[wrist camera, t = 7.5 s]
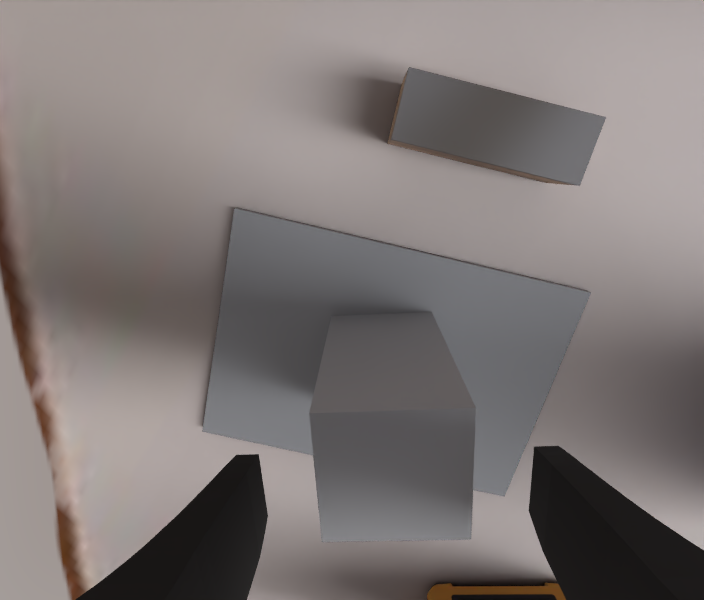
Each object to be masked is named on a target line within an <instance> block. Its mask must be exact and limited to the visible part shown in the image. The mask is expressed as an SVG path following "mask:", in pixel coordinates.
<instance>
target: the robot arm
mask: <svg viewBox="0 0 704 600" xmlns="http://www.w3.org/2000/svg"><path fill="white" fill-rule="evenodd" d="M529 513H530V515H531V518H532V521H533V524H534V527H535V530H536V533H537V536H538V539H539V542H540V544H541V547H542V550H543V552H544V554H545V557H546V559H547V561H548V563H549V565H550V567H551V569H552V571H553V573H554V576H555V578H556V580H557V582H558V584H559V586H560V588H561V590H562V592H563V594H564V596H565V598H566V600H704V550H702V549H701V548H699V547H697V546H696V545H694V544H693V543H691V542H690V541H688V540H687V539H685V538H683V537H682V536H681V535H679V534H678V533H676V532H675V531H673V530H672V529H670V528H669V527H667V526H666V525H664V524H663V523H661V522H660V521H658V520H657V519H655V518H654V517H653V516H651V515H650V514H648V513H647V512H646V511H644V510H643V509H641V508H640V507H639V506H637V505H636V504H634V503H633V502H632V501H630V500H629V499H628V498H626V497H625V496H624V495H622V494H621V493H620V492H618V491H617V490H616V489H614V488H613V487H612V486H610V485H609V484H608V483H606V482H605V481H604V480H602V479H601V478H600V477H599V476H597V475H596V474H595V473H593V472H592V471H591V470H589V469H588V468H587V467H586V466H584V465H583V464H582V463H580V462H579V461H578V460H577V459H575V458H574V457H573V456H571V455H570V454H569V453H567V452H566V451H565V450H563V449H562V448H561V447H559V446H542V447H534V456H533V468H532V480H531V492H530V504H529ZM267 518H268V514H267V508H266V501H265V494H264V487H263V481H262V474H261V467H260V461H259V454H255V455H236V456H235V457H234V458H233V459H232V460H231V461H230V462H229V463H228V464H227V465H226V466H225V467H224V468H223V469H222V470H221V471H220V472H219V473H218V474H217V475H216V476H215V477H214V479H213V480H212V481H211V482H210V483H209V484H208V485H207V486H206V487H205V488H204V489H203V490H202V491H201V492H200V493H199V494H198V495H197V496H196V497H195V498H194V499H193V500H192V501H191V502H190V503H189V504H188V505H187V506H186V507H185V508H184V509H183V510H182V511H181V512H180V513H179V514H178V515H177V516H176V517H175V518H174V519H173V520H172V521H171V522H170V523H169V524H168V525H167V526H165V527H164V528H163V529H162V530H161V531H160V532H159V533H158V534H157V535H156V536H155V537H154V538H153V539H151V540H150V541H149V542H148V543H147V544H146V545H145V546H144V547H143V548H141V549H140V550H139V551H138V552H137V553H135V554H134V555H133V556H132V557H131V558H130V559H128V560H127V561H126V562H125V563H123V564H122V565H121V566H120V567H118V568H117V569H116V570H115V571H113V572H112V573H111V574H110V575H108V576H107V577H106V578H105V579H103V580H102V581H101V582H99V583H98V584H97V585H95V586H94V587H93V588H91V589H90V590H88V591H87V592H86V593H84V594H83V595H81V596H80V597H79V598H77V599H76V600H247V597H248V594H249V591H250V588H251V584H252V581H253V578H254V575H255V571H256V568H257V565H258V561H259V558H260V554H261V549H262V544H263V539H264V534H265V529H266V523H267Z"/></svg>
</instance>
